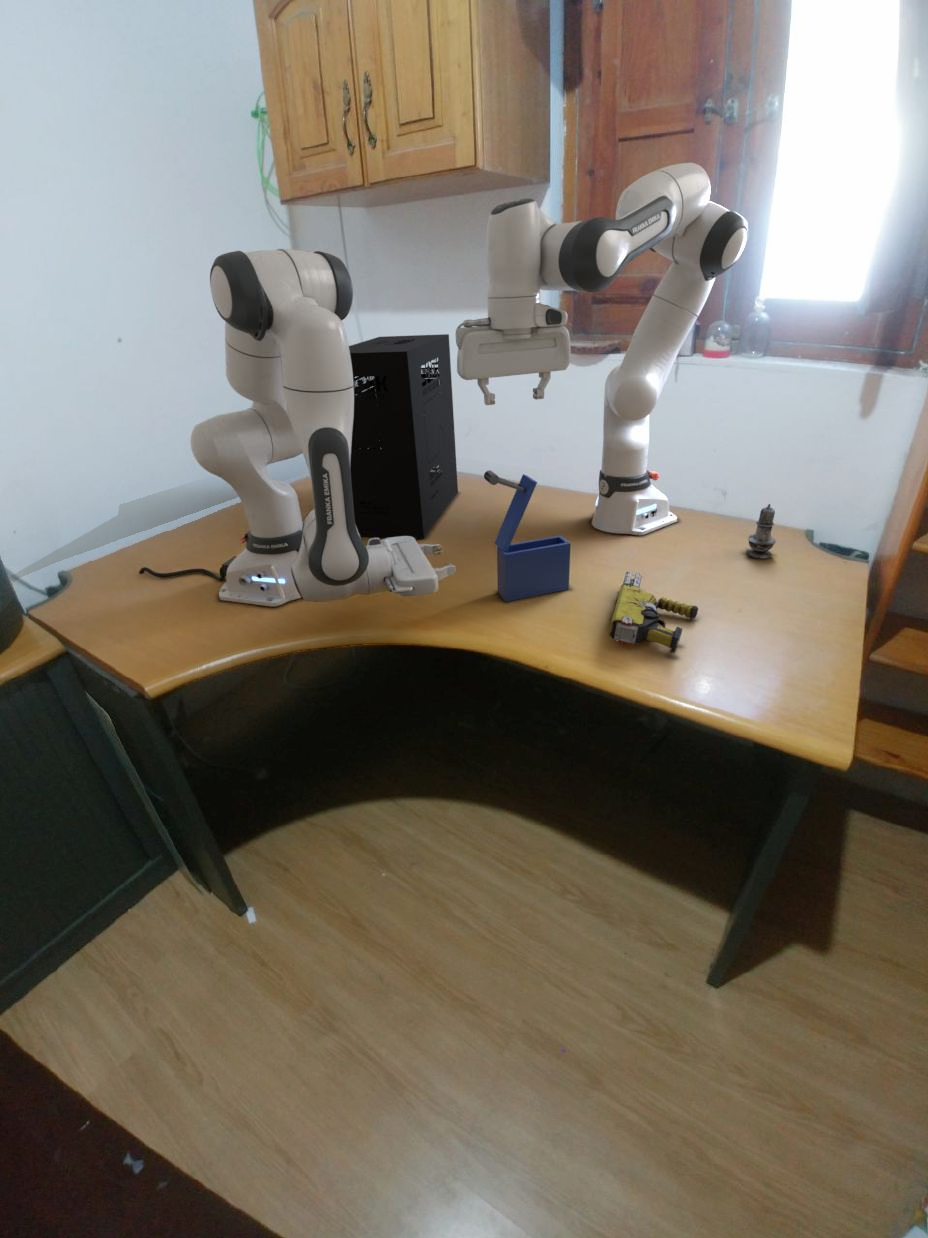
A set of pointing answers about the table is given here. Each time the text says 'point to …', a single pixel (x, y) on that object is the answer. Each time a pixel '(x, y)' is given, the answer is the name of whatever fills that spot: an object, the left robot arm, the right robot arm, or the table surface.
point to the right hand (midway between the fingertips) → (514, 401)
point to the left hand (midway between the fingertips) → (448, 558)
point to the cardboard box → (402, 435)
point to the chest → (533, 568)
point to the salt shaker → (762, 535)
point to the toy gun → (645, 616)
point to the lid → (512, 507)
